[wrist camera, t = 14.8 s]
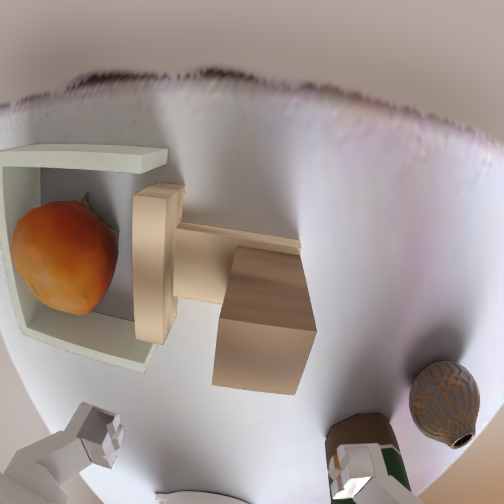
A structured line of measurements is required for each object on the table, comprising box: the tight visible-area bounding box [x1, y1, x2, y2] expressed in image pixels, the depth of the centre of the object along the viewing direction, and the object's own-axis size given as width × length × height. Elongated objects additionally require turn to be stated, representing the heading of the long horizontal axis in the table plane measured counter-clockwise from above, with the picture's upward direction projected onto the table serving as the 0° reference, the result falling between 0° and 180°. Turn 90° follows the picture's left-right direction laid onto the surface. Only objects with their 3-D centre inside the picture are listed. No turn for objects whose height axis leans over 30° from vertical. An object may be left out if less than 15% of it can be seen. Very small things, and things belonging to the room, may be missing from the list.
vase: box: [409, 361, 480, 449], centre depth 21 cm, size 7×7×9 cm
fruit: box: [11, 191, 119, 315], centre depth 19 cm, size 8×8×8 cm
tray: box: [0, 144, 168, 373], centre depth 20 cm, size 15×12×4 cm
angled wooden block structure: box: [132, 182, 317, 395], centre depth 17 cm, size 10×10×10 cm
